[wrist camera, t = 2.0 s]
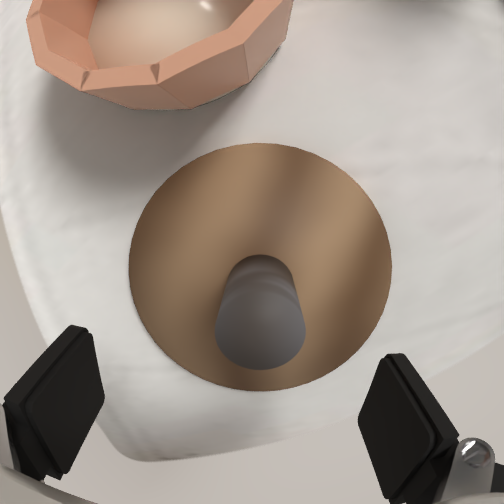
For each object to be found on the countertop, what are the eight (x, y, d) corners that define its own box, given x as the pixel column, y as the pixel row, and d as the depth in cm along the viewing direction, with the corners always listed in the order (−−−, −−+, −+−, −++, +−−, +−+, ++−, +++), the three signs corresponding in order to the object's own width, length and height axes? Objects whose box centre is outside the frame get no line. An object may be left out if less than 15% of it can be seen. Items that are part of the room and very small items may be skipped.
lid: (404, 166, 16) (465, 171, 10) (353, 385, 20) (375, 446, 14) (139, 137, 16) (83, 129, 10) (142, 366, 20) (111, 424, 14)
